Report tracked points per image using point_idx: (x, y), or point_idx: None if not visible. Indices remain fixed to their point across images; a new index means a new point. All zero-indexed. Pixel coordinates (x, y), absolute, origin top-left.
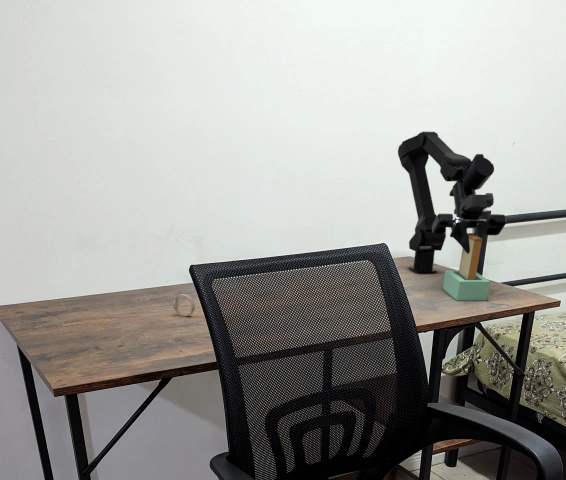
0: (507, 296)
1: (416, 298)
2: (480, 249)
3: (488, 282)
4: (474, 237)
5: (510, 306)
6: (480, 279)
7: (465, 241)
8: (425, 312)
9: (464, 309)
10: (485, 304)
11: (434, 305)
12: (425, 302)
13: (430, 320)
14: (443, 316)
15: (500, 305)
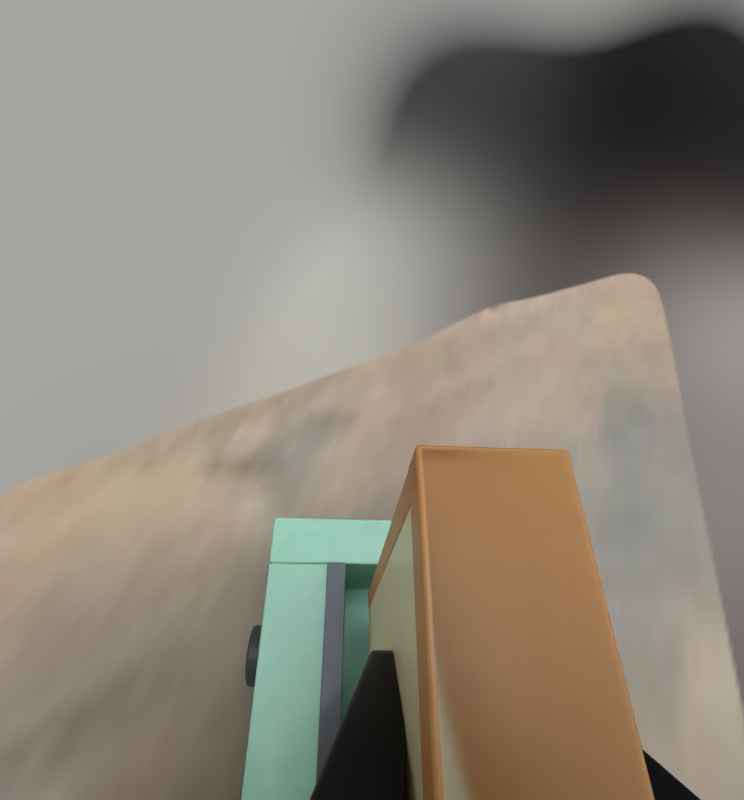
0: (79, 660)
1: (720, 614)
2: (395, 512)
3: (288, 520)
4: (558, 589)
5: (212, 433)
6: (337, 562)
7: (674, 783)
8: (654, 370)
9: (473, 399)
10: (333, 474)
11: (613, 467)
12: (661, 524)
13: (632, 287)
14: (581, 321)
15: (258, 453)
